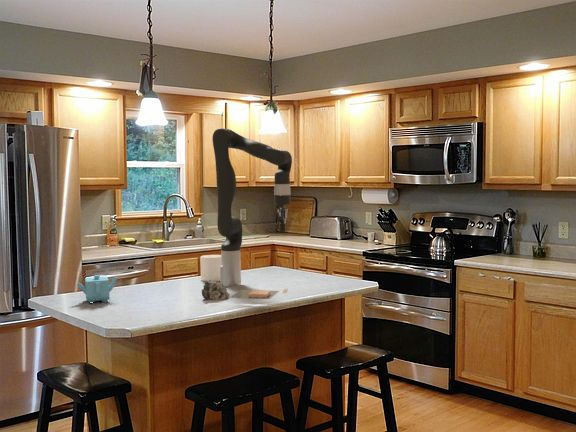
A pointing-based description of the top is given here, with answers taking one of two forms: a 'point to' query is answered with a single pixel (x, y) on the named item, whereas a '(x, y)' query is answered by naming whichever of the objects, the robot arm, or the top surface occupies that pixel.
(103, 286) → the teapot
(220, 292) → the rock
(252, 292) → the tile
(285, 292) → the turner
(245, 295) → the board
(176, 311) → the top surface
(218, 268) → the cup
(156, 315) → the top surface
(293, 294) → the top surface
